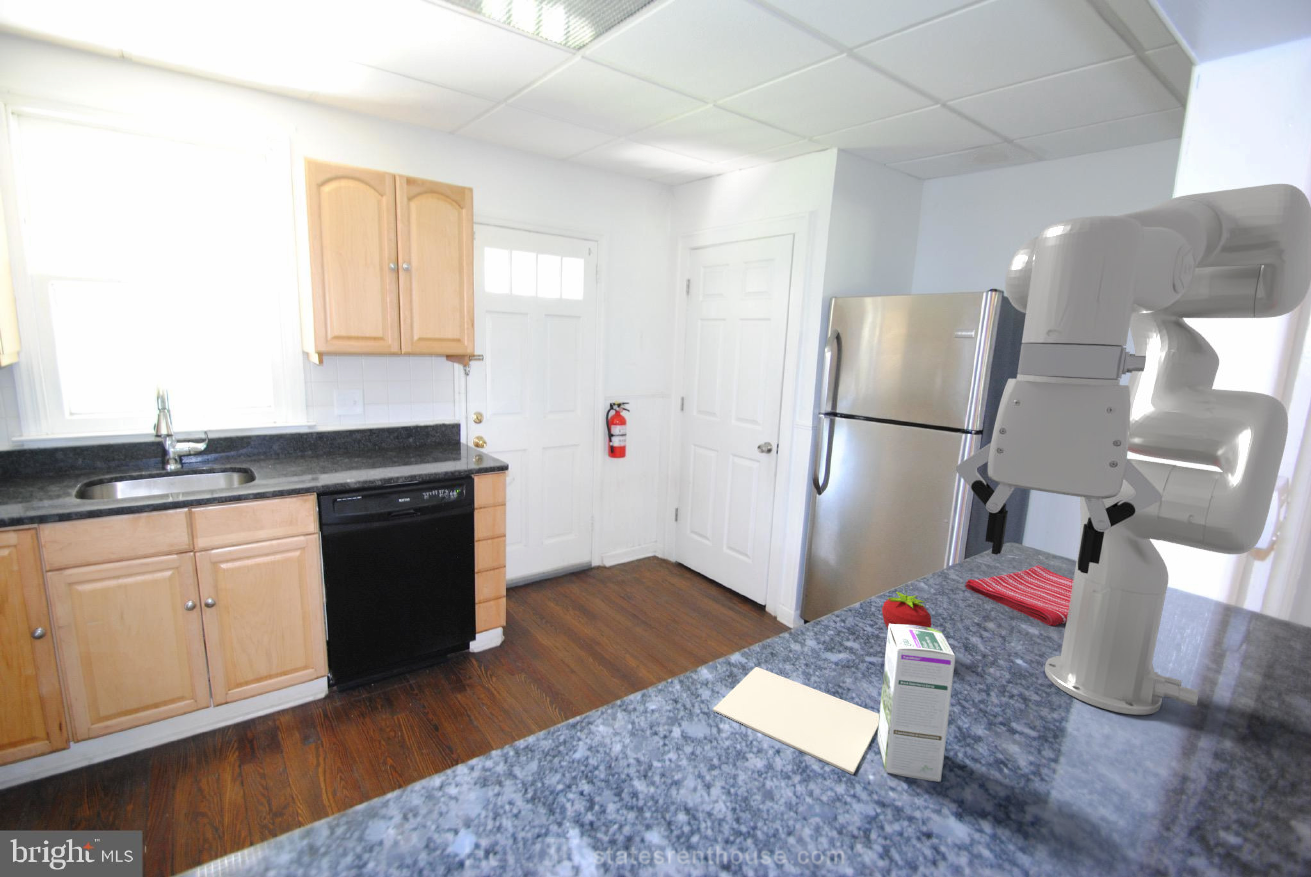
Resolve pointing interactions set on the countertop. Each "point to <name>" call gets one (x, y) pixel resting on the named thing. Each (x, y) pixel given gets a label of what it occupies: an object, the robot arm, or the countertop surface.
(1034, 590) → the dish towel
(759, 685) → the cream mat
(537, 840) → the countertop surface
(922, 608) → the strawberry
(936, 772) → the syrup box
